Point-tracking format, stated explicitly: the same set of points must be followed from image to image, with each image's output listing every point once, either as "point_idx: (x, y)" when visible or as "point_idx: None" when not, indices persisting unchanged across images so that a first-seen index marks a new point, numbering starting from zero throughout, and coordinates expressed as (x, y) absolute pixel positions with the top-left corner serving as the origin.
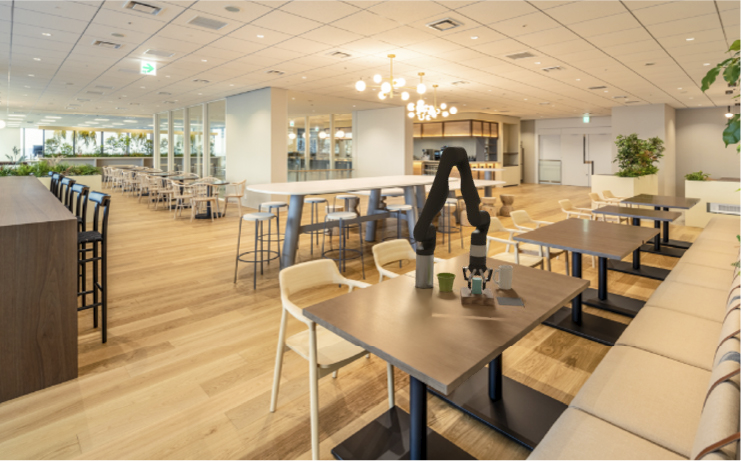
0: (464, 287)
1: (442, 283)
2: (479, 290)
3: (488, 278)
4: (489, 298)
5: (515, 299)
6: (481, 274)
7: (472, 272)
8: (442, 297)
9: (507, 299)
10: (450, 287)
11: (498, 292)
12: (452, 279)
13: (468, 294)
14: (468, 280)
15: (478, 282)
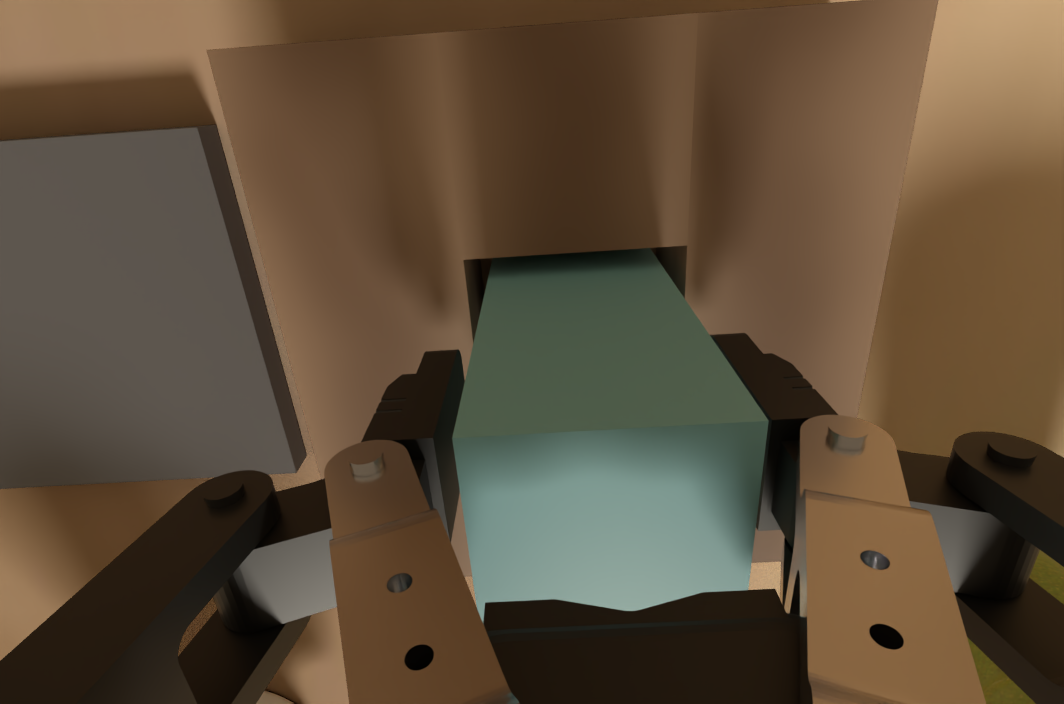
0: (767, 543)
1: None
2: (525, 300)
3: (213, 539)
4: (306, 43)
5: (19, 417)
6: (447, 633)
7: (965, 697)
8: (1047, 355)
9: (123, 395)
10: None
11: (302, 641)
12: (1020, 698)
13: (753, 183)
14: (882, 441)
15: (562, 391)
